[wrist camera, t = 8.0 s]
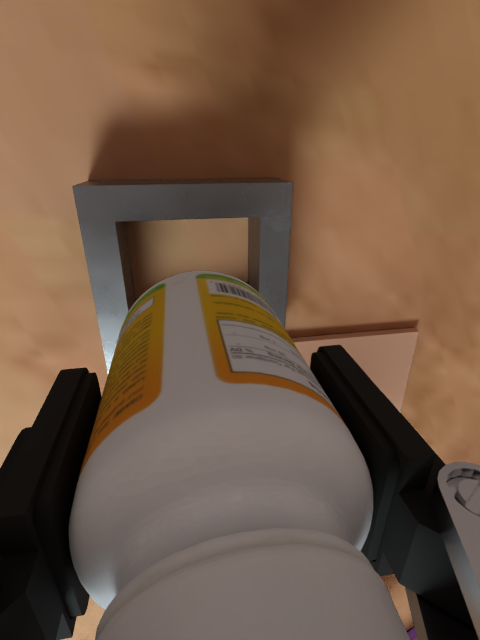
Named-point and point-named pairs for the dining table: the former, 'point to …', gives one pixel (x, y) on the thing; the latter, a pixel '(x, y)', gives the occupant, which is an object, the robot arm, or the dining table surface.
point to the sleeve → (173, 204)
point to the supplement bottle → (223, 482)
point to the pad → (373, 356)
